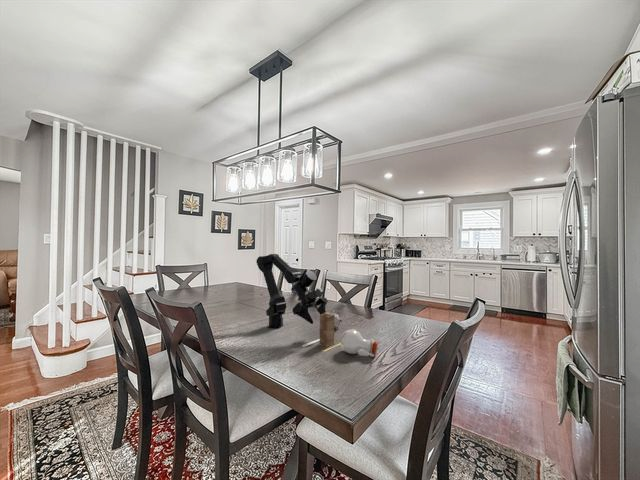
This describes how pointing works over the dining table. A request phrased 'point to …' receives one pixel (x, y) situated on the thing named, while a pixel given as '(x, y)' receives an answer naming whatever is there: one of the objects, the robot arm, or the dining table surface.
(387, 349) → the dining table surface
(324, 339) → the walnut block
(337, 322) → the game die
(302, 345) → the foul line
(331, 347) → the strip
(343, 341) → the potion bottle
